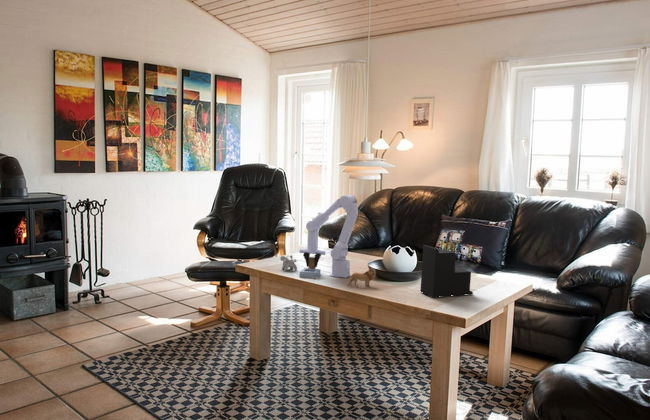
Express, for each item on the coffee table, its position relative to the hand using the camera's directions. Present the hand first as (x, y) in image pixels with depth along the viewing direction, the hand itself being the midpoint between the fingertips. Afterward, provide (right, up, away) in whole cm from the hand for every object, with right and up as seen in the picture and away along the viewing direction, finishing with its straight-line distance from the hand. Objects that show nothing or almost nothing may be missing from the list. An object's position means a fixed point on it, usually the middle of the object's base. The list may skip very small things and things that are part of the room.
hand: (311, 266), depth 294 cm
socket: (-1, -4, -10) cm, 11 cm away
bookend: (+66, -9, -39) cm, 77 cm away
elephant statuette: (-14, -2, +5) cm, 15 cm away
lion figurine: (+26, -7, -28) cm, 39 cm away
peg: (0, -3, 0) cm, 3 cm away
